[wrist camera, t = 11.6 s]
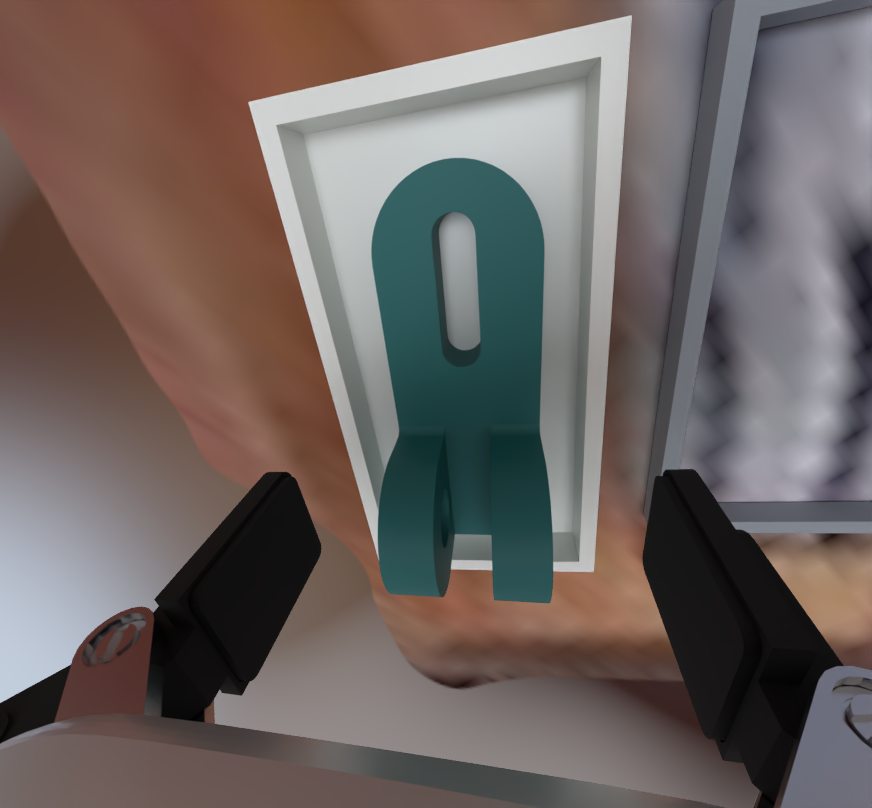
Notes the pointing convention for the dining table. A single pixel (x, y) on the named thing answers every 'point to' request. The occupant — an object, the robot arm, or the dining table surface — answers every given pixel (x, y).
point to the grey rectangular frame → (703, 222)
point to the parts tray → (465, 236)
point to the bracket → (463, 386)
